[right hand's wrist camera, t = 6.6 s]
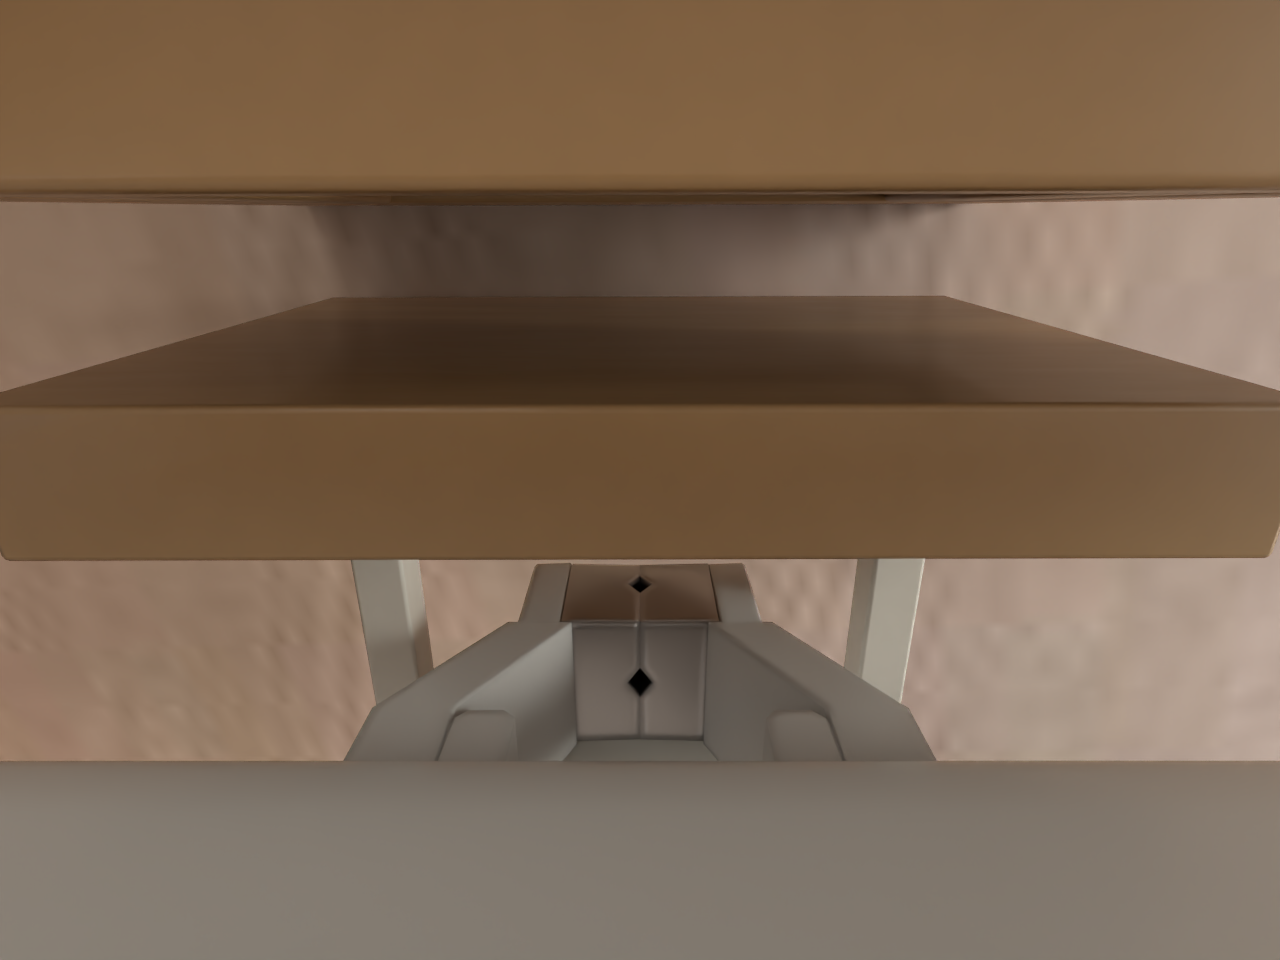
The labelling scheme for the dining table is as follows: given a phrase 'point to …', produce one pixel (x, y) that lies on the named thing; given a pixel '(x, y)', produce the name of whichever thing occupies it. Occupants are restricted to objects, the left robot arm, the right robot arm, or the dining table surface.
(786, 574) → the dining table surface
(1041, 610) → the dining table surface
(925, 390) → the drawer
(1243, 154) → the cabinet
